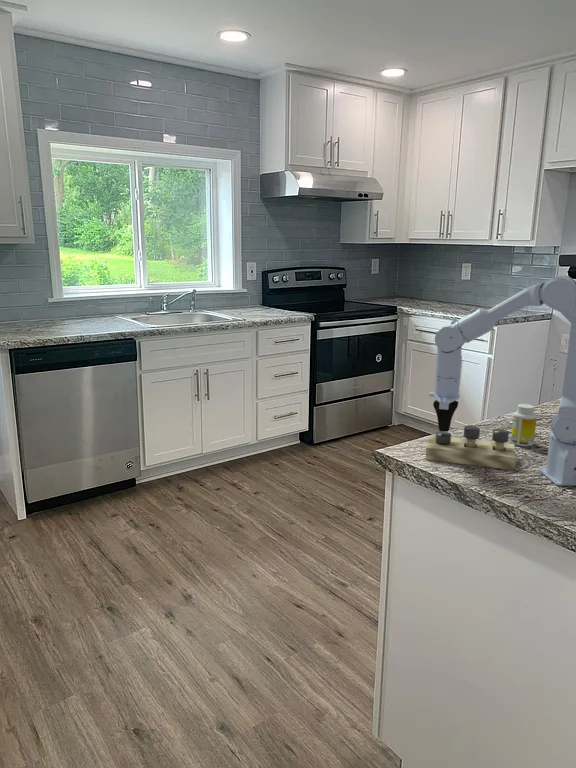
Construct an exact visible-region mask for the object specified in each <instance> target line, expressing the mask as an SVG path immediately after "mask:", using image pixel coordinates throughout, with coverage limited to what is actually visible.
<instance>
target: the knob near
mask: <svg viewBox="0 0 576 768" xmlns="http://www.w3.org/2000/svg"><path fill="white" fill-rule="evenodd" d="M509 435H510V431H509V430H507V429H505V428H494V429H492V435H491V440H492V442H495V450H496V451H504V443H508V442H509V437H510V436H509Z"/></svg>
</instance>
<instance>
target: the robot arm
mask: <svg viewBox="0 0 576 768" xmlns="http://www.w3.org/2000/svg"><path fill="white" fill-rule="evenodd" d="M542 305H546V306H547V307H549V308H551V309H553V310H555V311H557V312H559V313H561V315H562V316H563V317H564V318H565V319H566V320H567V321H568V322H569V323H570V331H569V339H568V344H567V353H566V361H565V366H564V367H565V368H564V374H563V381H562V389H561V396H560V401H559V406H558V410H557V412H556V415H555V417H554V418H553V420H552V422H551V432H550V433H549V439H548V450H547V456H546V457H547V458H546V466H544V467H538V468H537V469H538V471H539V472H540V473H542V475H544V476H546V478H547V479H549V480H550V481H551V482H552V483H553V484H555V485H556V486H558V487H559V486H560V487H561V486H563V487H564V486H576V280H575V279H574V278H572V277H570V276H568V275H558V276H554V277H553V278H550V279H548V280H545V281H543V282H540V283H538V284H535V285H531V286H529V287H525V289H523V290H521V291H519V292H517V293H516V294H514V295H512V296H511V297H509V298H507V299H506V300H504V301H501V302H500V303H499V304H497V305H495V306H494V307H491V308H489V309H487V308H483V307H480V308H475V307H474V308H472V309H470V310H469V311H468V312H469V313H468V314H466V315H465V316H463V317H462V318H459V319H458V320H456V319H453V320H452V321H450V323H451V324H450V325H448V326H442V328H440V329H439V330H438V331H437V332H436V333H435V336H434V342H435V346H436V348H437V351H436V357H435V359H436V360H435V372H434V373H435V374H434V375H435V377H434V389H433V390H434V391H430V392H429V393H428V396H429V397H431V398H432V397H433V398H434V399H435V400H434V401H433V403H432V406H433V408H434V411H435V413H436V416H437V424H438V430H439V431H438V432H448V433H449V431H450V428H451V424H452V420H453V416H454V414H455V411H456V410H457V409H458V406H459V401H458V400H459V399H460V397H461V395H460V386H461V385H460V384H461V382H460V380H461V369H462V368H461V367H462V349H463V348H462V347H463V346H464V344H467V343H471V342H472V341H475V340H476V339H478V338H479V337H482V336H484V335H486V334H488V333H489V332H491V331H494V327H495V324H496V322H497V321H500V320H501V319H504V318H506V317H508V316H510V315H511V314H513V313H515V312H518V311H520V310H522V309H525V308H526V307H540V306H542Z"/></svg>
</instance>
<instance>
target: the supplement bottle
mask: <svg viewBox="0 0 576 768" xmlns="http://www.w3.org/2000/svg"><path fill="white" fill-rule="evenodd" d="M537 418H538V417H537V414H536V413H535V406H534V405H532V404H527V403H519V404H518V405H517V409H516V411H514V412H513V416H512V426H511V427H512V428H511V436H510V437H511V438H510V441H511V444H514V446H519V447H532V446H533V445H534V444H535V439H536V438H535V436H536V428H537Z"/></svg>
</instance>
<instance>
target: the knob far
mask: <svg viewBox="0 0 576 768" xmlns="http://www.w3.org/2000/svg"><path fill="white" fill-rule="evenodd" d="M435 436H436V440H435V442H436V443H437V444H440V445H449V444H450V443H451V437H452V434H451V433H450V432H449V431H448V432H445V431H437V432H436V433H435Z"/></svg>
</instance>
